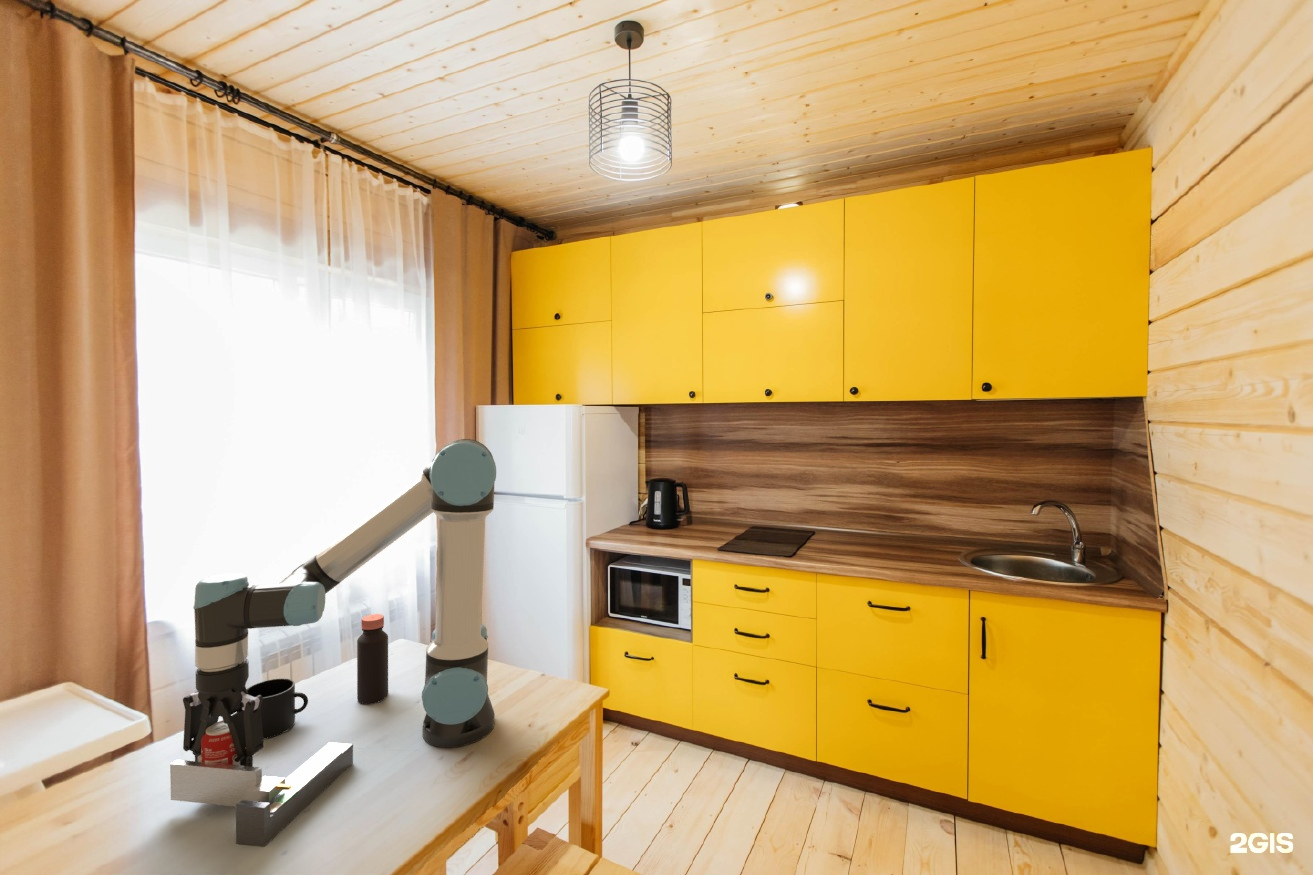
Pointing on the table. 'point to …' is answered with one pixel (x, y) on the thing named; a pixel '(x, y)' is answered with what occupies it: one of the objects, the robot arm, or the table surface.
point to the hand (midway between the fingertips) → (224, 788)
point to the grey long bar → (291, 796)
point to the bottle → (372, 661)
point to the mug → (277, 705)
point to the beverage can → (218, 745)
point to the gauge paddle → (222, 783)
